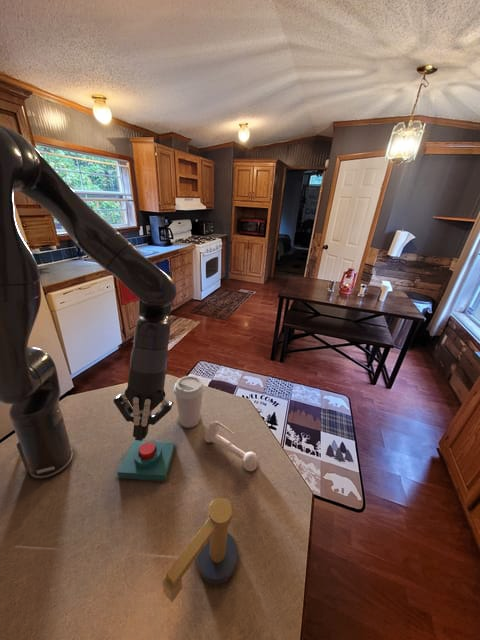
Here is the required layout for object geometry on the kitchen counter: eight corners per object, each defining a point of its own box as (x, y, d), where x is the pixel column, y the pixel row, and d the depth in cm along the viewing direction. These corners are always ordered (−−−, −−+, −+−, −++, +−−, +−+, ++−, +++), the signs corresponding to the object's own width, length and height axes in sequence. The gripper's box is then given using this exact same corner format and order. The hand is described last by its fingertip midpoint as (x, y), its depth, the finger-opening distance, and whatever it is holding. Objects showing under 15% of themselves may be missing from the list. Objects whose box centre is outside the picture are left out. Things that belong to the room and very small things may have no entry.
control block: (118, 478, 65) (116, 467, 63) (134, 445, 74) (132, 435, 73) (165, 481, 65) (164, 470, 63) (175, 447, 74) (174, 437, 73)
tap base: (194, 583, 48) (194, 544, 43) (200, 533, 55) (201, 495, 50) (236, 586, 48) (241, 547, 43) (237, 536, 55) (241, 498, 50)
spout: (218, 508, 50) (219, 493, 48) (235, 523, 48) (236, 508, 46) (158, 585, 39) (156, 569, 37) (176, 609, 37) (175, 593, 35)
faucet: (245, 482, 71) (258, 465, 66) (200, 437, 77) (209, 419, 71) (252, 471, 74) (266, 454, 69) (209, 429, 80) (218, 411, 75)
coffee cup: (169, 418, 84) (167, 381, 79) (193, 405, 91) (193, 370, 85) (184, 436, 78) (183, 398, 72) (209, 421, 84) (210, 385, 78)
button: (137, 458, 66) (136, 454, 66) (143, 445, 70) (142, 441, 69) (152, 459, 66) (152, 455, 66) (157, 446, 70) (157, 442, 69)
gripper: (109, 366, 50) (101, 445, 53) (175, 376, 51) (165, 453, 53) (125, 355, 58) (117, 425, 60) (182, 364, 58) (173, 432, 61)
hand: (140, 438), depth 57 cm, fingers closed
